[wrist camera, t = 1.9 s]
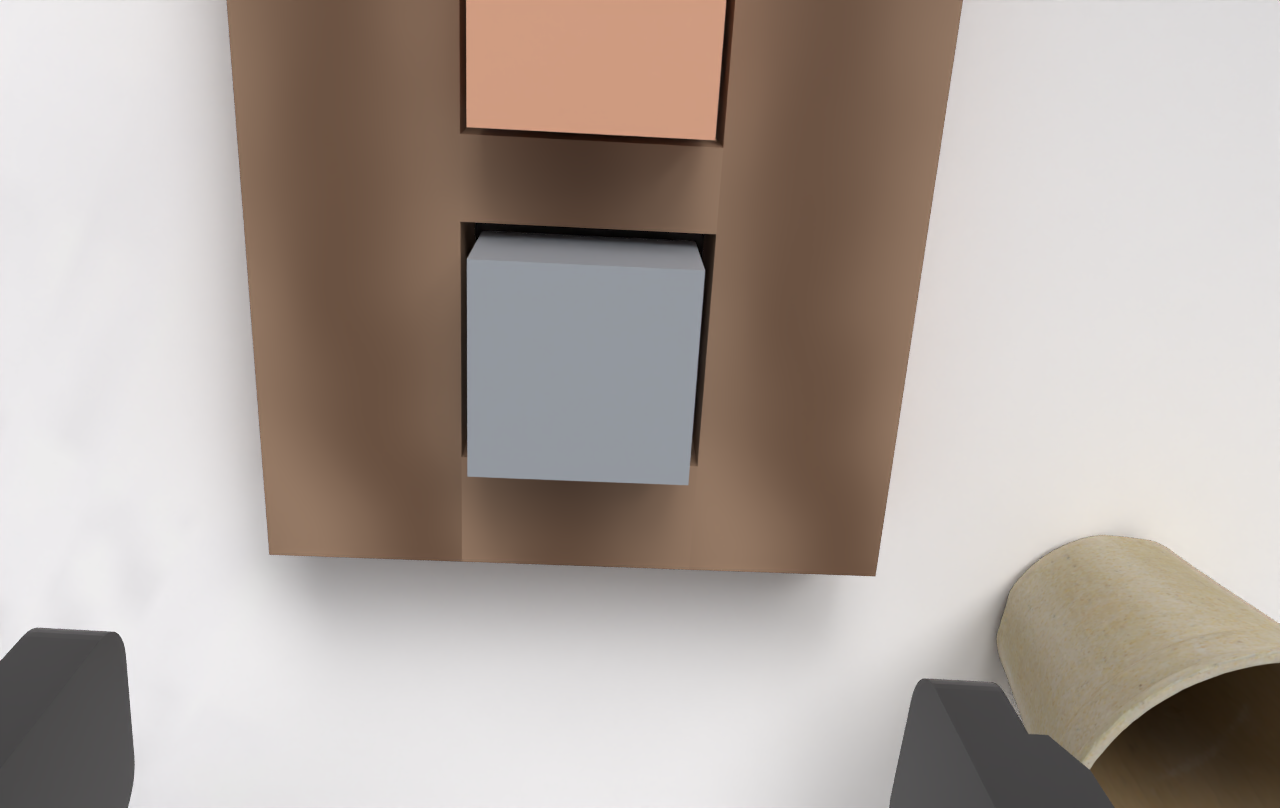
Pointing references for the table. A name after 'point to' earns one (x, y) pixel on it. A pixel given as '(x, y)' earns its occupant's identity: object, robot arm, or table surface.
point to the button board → (585, 198)
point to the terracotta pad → (595, 66)
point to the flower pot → (1147, 675)
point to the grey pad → (582, 357)
